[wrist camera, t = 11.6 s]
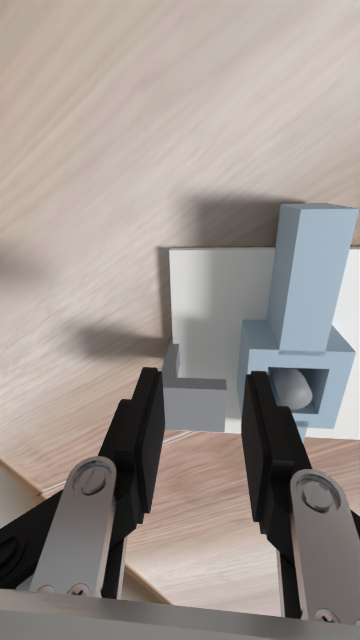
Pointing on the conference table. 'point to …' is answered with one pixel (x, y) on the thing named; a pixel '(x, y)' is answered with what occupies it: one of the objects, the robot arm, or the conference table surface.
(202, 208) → the conference table surface
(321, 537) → the robot arm
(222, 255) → the board
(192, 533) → the conference table surface
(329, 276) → the link
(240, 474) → the conference table surface
